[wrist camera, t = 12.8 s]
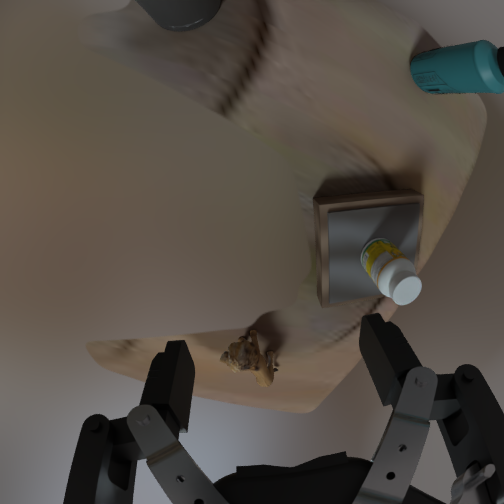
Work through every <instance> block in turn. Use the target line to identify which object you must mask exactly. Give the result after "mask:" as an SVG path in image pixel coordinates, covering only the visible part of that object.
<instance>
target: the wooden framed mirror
mask: <svg viewBox="0 0 504 504" xmlns="http://www.w3.org/2000/svg"><path fill="white" fill-rule="evenodd" d="M423 205H424V195H423V194H421V193H419V192H417V191H415V190H413V189H405V190H392V191H379V192H368V193H357V194H346V195H336V196H327V197H318V198H313V207H314V223H315V242H316V268H317V296H318V299H319V301H320V304H321V306H322V308H327V307H332V306H338V305H344V304H349V303H354V302H360V301H365V300H370V299H375V298H380V297H385V295H384V294H382V293H381V291H380V290H379V289H378V287H377V286H376V284H375V283H374V281H373V280H372V278H371V277H370V276H369V274H368V273H367V272H366V270H365V269H364V267H363V266H362V263H361V253H362V250H363V248H364V247H365V246H366V244H367V243H369V242H370V241H371V240H373V239H376V238H384V239H387V240H389V241H390V242H391V243H392V244H393V245H395V246H396V247H397V248H398V249H399V250H400V251H401V252H402V253H403V254H404V255H405V256H406V257H407V258H408V259H409V260H410V261H411V262H412V263H413V265H414V267H415V270H417V263H418V256H419V248H420V239H421V230H422V219H423Z"/></svg>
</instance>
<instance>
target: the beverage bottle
mask: <svg viewBox="0 0 504 504" xmlns="http://www.w3.org/2000/svg"><path fill="white" fill-rule="evenodd" d="M424 52H425V51H424ZM410 69H411V75H412V78H413V80H414V82H415V83H416V84H417V86H418V87H419V88H420V89H422V90H423V91H425V92H428V93H432V94H434V93H440V94H441V93H442V94H444V93H455V94H457V93H464V94H466V93H475V94H476V93H477V92H480V93H484V92H485V93H496V94H501V93H503V92H504V47H500V48H499V49H498V48H497V47H496V46H495V45H493V44H492V43H491V42H489V41H486V40H480V41H476V42H471V43H466V44H460V45H455V46H449V47H444V48H443V47H441V48H437V49H433V50H430V51H428V52H425V53H423V52H422V53H421V54H418V55H415V57H414V58H413V60H412V62H411V67H410Z"/></svg>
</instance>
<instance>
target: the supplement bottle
mask: <svg viewBox="0 0 504 504" xmlns="http://www.w3.org/2000/svg"><path fill="white" fill-rule="evenodd" d="M361 263H362V266H363V267H364V269H365V270H366V272H367V273H368V274H369V276H370V277H371V278H372V280H373V281H374V283H375V284H376V286H377V287H378V289H379V290H380V291H381V293H382V294H384V295H385V296H387V297H391V298H392V299H393V300H394V302H395V303H397V304H399V305H406V304H409V303H410V302H412V301H413V300H415V299H416V297H417V296H418V295H419V293H420V291H421V287H422V284H421V280H420V279H419V278H418V276H417V275H416V270H415V267H414V265H413V263H412V262H411V261H410V260H409V259H408V258H407V257H406V256H405V255H404V254H403V253H402V252H401V251H400V250H399V249H398V248H397V247H396V246H395V245H393V244H392V243H391V242H390V241H389V240H387V239H384V238H376V239H373V240H371V241H370V242H369V243H367V244H366V246H365V247H364V248H363V250H362V253H361Z"/></svg>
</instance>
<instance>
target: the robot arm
mask: <svg viewBox="0 0 504 504" xmlns="http://www.w3.org/2000/svg"><path fill="white" fill-rule="evenodd" d="M135 1H136V2H137V3H138V4H139V5H140V6H141V7H142V8H143V9H144V10H145V11H146V12H147V13H148V14H149V15H150V16H151V17H152V18H153V19H154V21H155V22H156V23H157V24H158V25H160V26H161V27H163V28H165V29H167V30H171V31H188V30H192V29H195V28H198V27H200V26H202V25H204V24H205V23H207V22H208V21H210V20H211V19H212V18H213V17H214V16H215V14H216V13H217V11H218V9H219V6H220V1H221V0H135ZM407 342H408V341H407V340H406V338H405V337H404V335H403V333H402V332H401V330H400V329H399V327H398V326H396V325H395V324H393V323H392V322H390V321H389V322H385V321H384V320H383V318H382V316H381V315H380V314H379V313H374V314H370V315H365V316H363V317H362V321H361V329H360V337H359V347H360V351H361V354H362V356H363V359H364V361H365V363H366V365H367V368H368V370H369V373H370V375H371V377H372V380H373V382H374V385H375V387H376V389H377V392H378V394H379V397H380V399H381V402H382V404H383V406H387V405H390V404H391V405H392V407H393V411H392V414H391V416H390V419H389V422H388V424H387V426H386V429H385V431H384V434H383V436H382V438H381V440H380V443H379V445H378V447H377V449H376V451H375V453H374V455H373V457H372V459H371V461H368V460H365V459H362V458H355V457H347V455H346V451H345V452H340V453H336V454H331V455H326V456H321V457H318V458H316V459H313V460H311V461H308V462H306V463H303V464H300V465H298V466H295V467H280V466H271V465H252V466H237V467H236V469H237V470H236V471H237V472H236V473H232V474H230V475H227V476H225V477H223V478H221V479H219V480H218V481H216V482H215V483H214V484H213V483H212V482H211V481H210V480H209V478H208V477H207V476H206V475H205V474H204V472H203V471H202V470H201V469H200V468H199V467H198V465H197V464H196V463H195V461H194V460H193V459H192V458H191V456H190V455H189V454H188V452H187V451H186V450H185V449H184V447H183V446H182V445H181V443H180V442H179V441H178V439H179V433H187V432H188V423H189V415H190V408H191V400H192V393H193V386H194V378H195V366H194V362H193V360H192V357H191V355H190V352H189V349H188V347H187V344H186V342H185V340H176V341H168V342H167V344H166V348H165V352H159V353H158V354H157V355H156V356H155V358H154V359H153V360H152V363H151V366H150V369H149V370H150V371H149V373H148V376H147V377H148V378H147V380H146V383H145V387H144V390H143V394H142V397H141V401H140V405H139V406H137V407H135V408H133V409H132V410H131V411H130V412H129V414H128V416H127V417H123V418H119V419H114V420H108V419H107V418H106V417H105V416H104V415H101V414H94V415H92V416H90V417H88V418H87V419H86V420H85V421H84V423H83V425H82V429H81V432H80V436H79V439H78V443H77V447H76V450H75V454H74V458H73V462H72V466H71V470H70V474H69V479H68V483H67V487H66V492H65V498H64V502H63V504H133V493H134V484H135V476H136V467H137V460H141V459H147V461H146V463H147V465H148V467H149V469H150V470H151V472H152V474H153V475H154V477H155V478H156V480H157V481H158V483H159V484H160V486H161V487H162V489H163V490H164V492H165V493H166V495H167V496H168V498H169V499H170V500H171V502H172V503H173V504H446V503H444V502H442V501H440V500H438V499H436V498H434V497H432V496H430V495H428V494H426V493H424V492H423V491H421V490H419V489H417V488H415V487H413V486H412V485H410V483H411V480H412V478H413V475H414V473H415V470H416V467H417V465H418V462H419V459H420V456H421V453H422V450H423V447H424V444H425V441H426V438H427V434H428V431H429V427H430V422H429V420H436V421H437V423H438V426H439V428H440V431H441V433H442V436H443V439H444V441H445V444H446V447H447V450H448V452H449V455H450V458H451V461H452V464H453V467H454V470H455V473H456V476H457V478H456V480H455V481H454V483H453V485H452V488H451V496H452V497H451V502H450V504H504V413H503V411H502V409H501V408H500V406H499V404H498V402H497V400H496V398H495V396H494V395H493V393H492V391H491V389H490V387H489V386H488V384H487V382H486V381H485V379H484V377H483V375H482V374H481V372H480V371H479V369H478V368H476V367H475V366H473V365H470V364H464V365H461V366H459V367H458V368H457V370H456V371H455V373H454V374H441V375H440V374H435V372H434V371H432V370H431V369H429V368H427V367H423V366H422V365H421V363H420V361H419V360H418V358H417V356H416V355H415V353H414V351H413V350H412V348H411V346H410V345H409V343H407Z"/></svg>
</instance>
